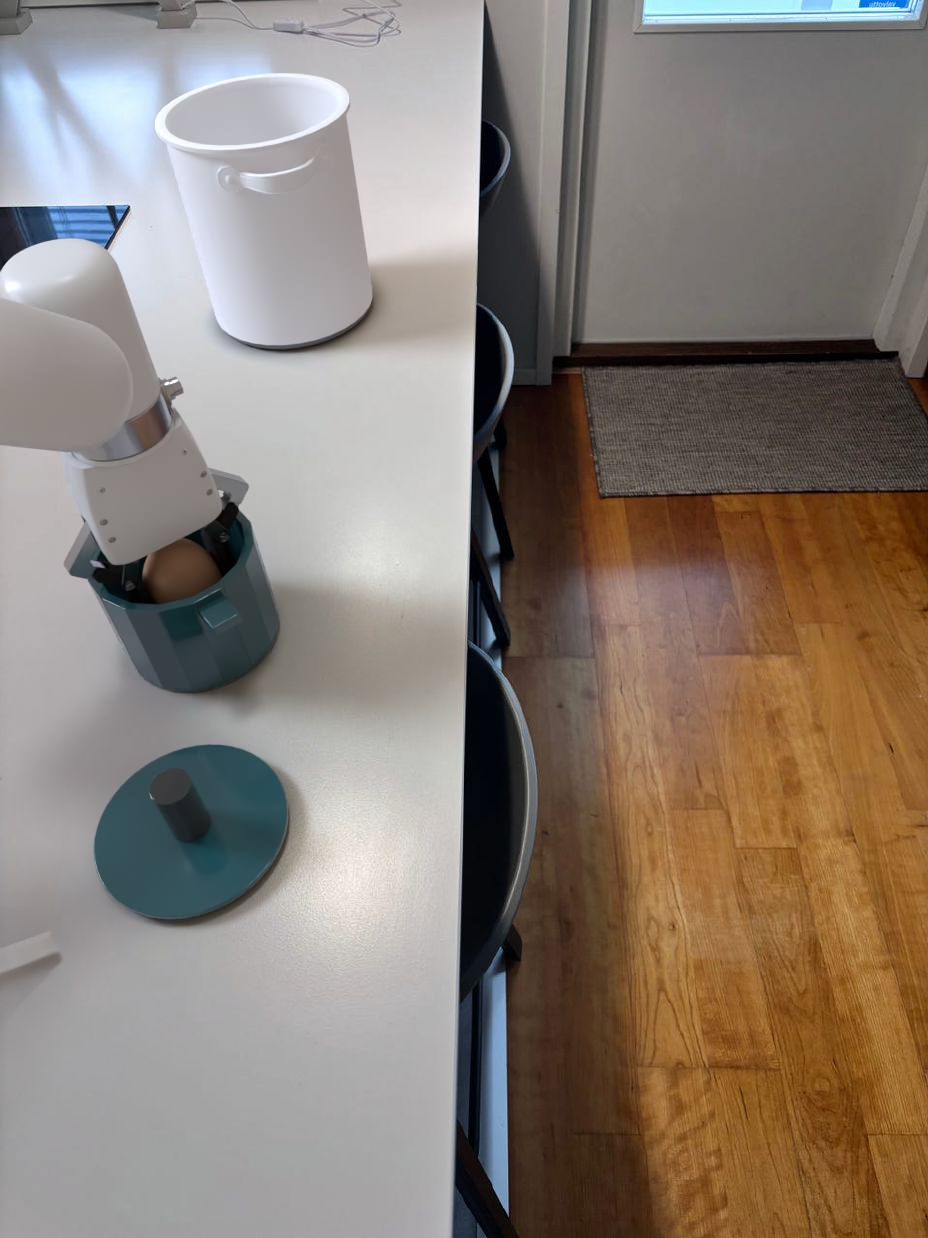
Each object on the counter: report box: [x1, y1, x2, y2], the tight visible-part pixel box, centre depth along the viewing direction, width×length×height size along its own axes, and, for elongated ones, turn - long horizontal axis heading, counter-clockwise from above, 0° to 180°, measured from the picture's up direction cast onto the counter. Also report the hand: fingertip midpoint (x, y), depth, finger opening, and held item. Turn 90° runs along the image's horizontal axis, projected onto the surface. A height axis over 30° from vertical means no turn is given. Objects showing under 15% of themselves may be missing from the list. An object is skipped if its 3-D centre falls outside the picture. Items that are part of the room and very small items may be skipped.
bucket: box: [154, 72, 373, 350], centre depth 114 cm, size 26×22×24 cm
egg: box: [142, 538, 222, 605], centre depth 81 cm, size 6×6×8 cm
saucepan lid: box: [93, 744, 289, 920], centre depth 70 cm, size 15×15×7 cm
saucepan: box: [87, 509, 280, 693], centre depth 82 cm, size 14×19×10 cm
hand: (185, 588), depth 82 cm, fingers closed on egg, 6 cm apart
